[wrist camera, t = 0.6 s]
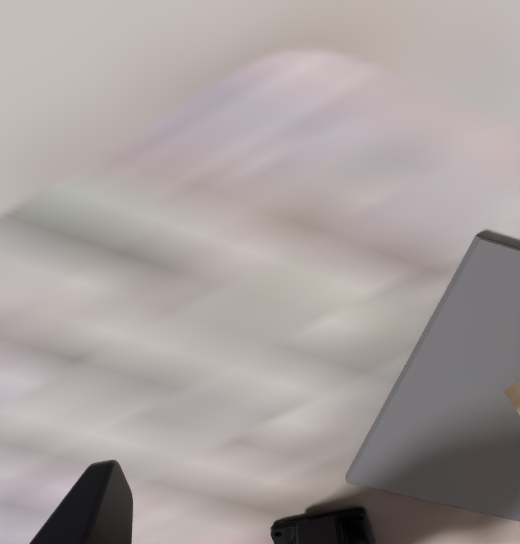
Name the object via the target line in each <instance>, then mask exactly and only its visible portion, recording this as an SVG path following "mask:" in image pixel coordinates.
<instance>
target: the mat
mask: <svg viewBox="0 0 520 544" xmlns="http://www.w3.org/2000/svg"><path fill="white" fill-rule="evenodd" d="M519 381H520V249H519V248H516V247H512V246H509V245H506V244H502V243H499V242H496V241H493V240H489V239H486V238H483V237H480V236H475V238H474V240H473V242H472V244H471V245H470V247H469V249H468V251H467V253H466V255H465V256H464V258H463V260H462V262H461V264H460V266H459V268H458V269H457V271H456V273H455V275H454V277H453V279H452V280H451V282H450V284H449V286H448V288H447V290H446V291H445V293H444V295H443V297H442V299H441V301H440V303H439V304H438V306H437V308H436V310H435V312H434V314H433V315H432V317H431V319H430V321H429V323H428V325H427V326H426V328H425V330H424V332H423V334H422V336H421V338H420V339H419V341H418V343H417V345H416V347H415V349H414V350H413V352H412V354H411V356H410V358H409V360H408V361H407V363H406V365H405V367H404V369H403V371H402V373H401V374H400V376H399V378H398V380H397V382H396V384H395V385H394V387H393V389H392V391H391V393H390V395H389V396H388V398H387V400H386V402H385V404H384V406H383V408H382V409H381V411H380V413H379V415H378V417H377V419H376V420H375V422H374V424H373V426H372V428H371V430H370V431H369V433H368V435H367V437H366V439H365V441H364V443H363V444H362V446H361V448H360V450H359V452H358V454H357V455H356V457H355V459H354V461H353V463H352V465H351V466H350V468H349V470H348V472H347V474H346V481H347V483H351V484H356V485H360V486H365V487H369V488H374V489H378V490H382V491H387V492H391V493H396V494H400V495H405V496H409V497H413V498H418V499H422V500H427V501H431V502H436V503H440V504H445V505H449V506H453V507H458V508H462V509H467V510H471V511H476V512H480V513H484V514H489V515H493V516H498V517H502V518H507V519H511V520H516V521H520V415H519V413H518V412H517V411H516V409H515V408H514V406H513V405H512V403H511V402H510V400H509V399H508V397H507V396H506V395H505V393H504V392H503V391H505V390H506V389H508V388H509V387H511V386H512V385H514V384H516V383H517V382H519Z"/></svg>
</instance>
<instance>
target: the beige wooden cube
mask: <svg viewBox="0 0 520 544" xmlns="http://www.w3.org/2000/svg"><path fill="white" fill-rule="evenodd" d="M503 392H504V393H505V395H506V396H507V397H508V399H509V400H510V402H511V403H512V405H513V406H514V408H515V409H516V411H517V412H518V413H519V415H520V381H519V382H517V383H516V384H514V385H512V386H511V387H509V388H508V389H506V390H505V391H503Z"/></svg>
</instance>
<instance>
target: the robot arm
mask: <svg viewBox="0 0 520 544" xmlns="http://www.w3.org/2000/svg"><path fill="white" fill-rule="evenodd" d="M132 518H133V498H132V493H131V489H130V487H129V485H128V483H127V480H126V478H125V476H124V474H123V471H122V469H121V467H120V465H119V463H118V462H117V461H116V460H108V461H102V462H97V463H93V464H91V465H90V466H89V467H88V468H87V469H86V470H85V472H84V473H83V474H82V475H81V477H80V478H79V479H78V481H77V482H76V483H75V485H74V486H73V487H72V489H71V490H70V491H69V492H68V494H67V495H66V496H65V498H64V499H63V500H62V502H61V503H60V504H59V506H58V507H57V508H56V510H55V511H54V512H53V513H52V515H51V516H50V517H49V519H48V520H47V521H46V523H45V524H44V525H43V527H42V528H41V529H40V530H39V532H38V533H37V534H36V536H35V537H34V538H33V540H32V541H31V542H30V544H131V542H132ZM271 537H272V539H273V541H274V544H376V542H375V538H374V535H373V532H372V528H371V525H370V522H369V519H368V515H367V512H366V510H365V509H363V508H354V509H349V510H344V511H339V512H334V513H329V514H324V515H319V516H314V517H309V518H304V519H299V520H294V521H289V522H284V523H279V524H275V525H273V526H272V527H271Z"/></svg>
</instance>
